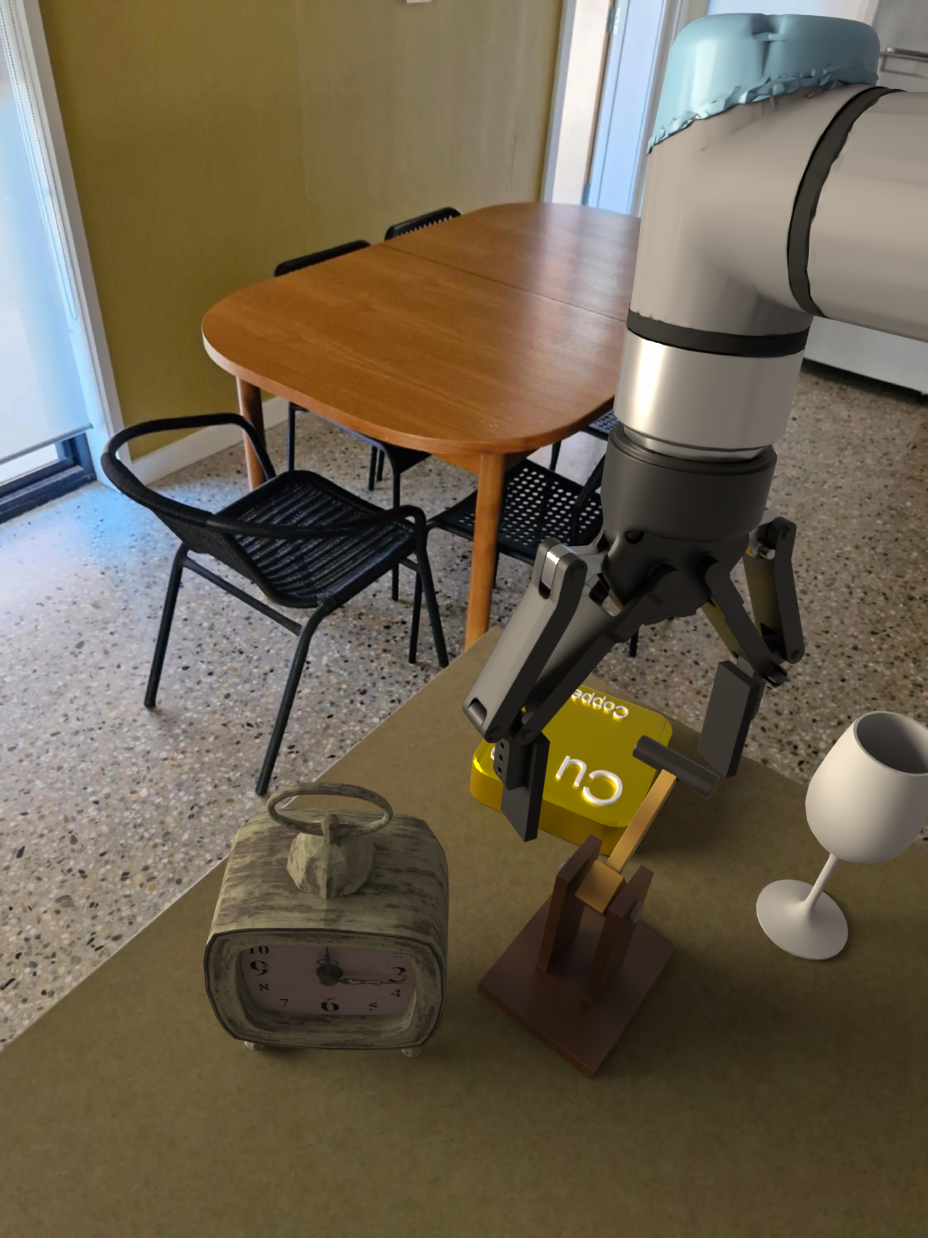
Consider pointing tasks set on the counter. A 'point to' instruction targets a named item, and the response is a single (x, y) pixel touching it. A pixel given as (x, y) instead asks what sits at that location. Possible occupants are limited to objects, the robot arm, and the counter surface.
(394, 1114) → the counter surface
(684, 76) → the robot arm
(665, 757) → the lever
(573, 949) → the wooden lever stand
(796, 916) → the wineglass
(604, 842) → the element tile
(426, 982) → the tabletop clock
